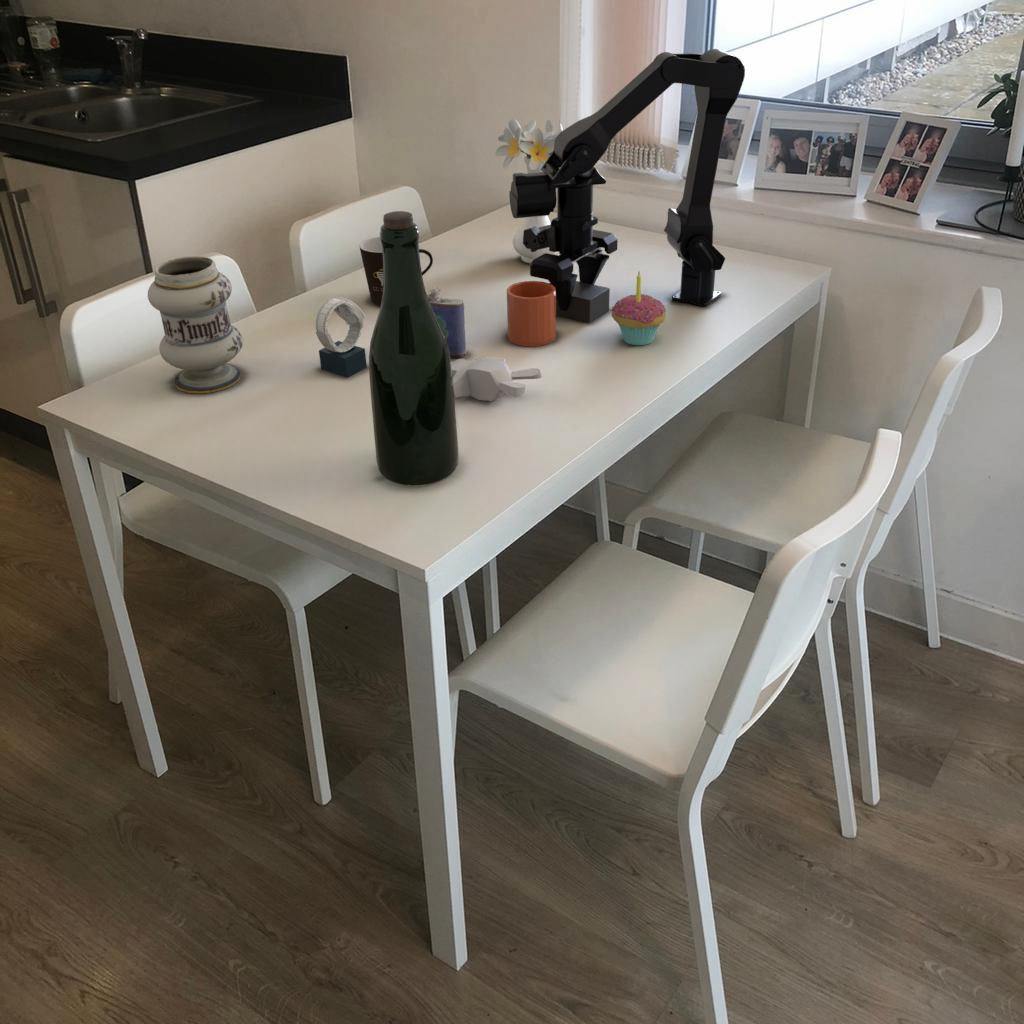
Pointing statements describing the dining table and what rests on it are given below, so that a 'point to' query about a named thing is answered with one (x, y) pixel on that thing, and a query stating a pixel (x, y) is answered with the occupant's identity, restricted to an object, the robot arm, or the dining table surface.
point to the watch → (340, 354)
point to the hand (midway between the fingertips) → (574, 303)
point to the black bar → (586, 302)
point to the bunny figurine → (489, 378)
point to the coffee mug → (378, 267)
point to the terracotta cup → (531, 313)
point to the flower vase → (528, 169)
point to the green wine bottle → (410, 368)
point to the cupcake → (638, 316)
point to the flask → (450, 321)
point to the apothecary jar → (196, 323)
